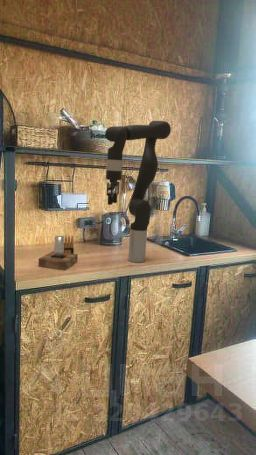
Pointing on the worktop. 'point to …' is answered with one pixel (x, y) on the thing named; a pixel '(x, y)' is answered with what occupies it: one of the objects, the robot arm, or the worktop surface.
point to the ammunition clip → (68, 245)
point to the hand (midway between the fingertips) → (112, 203)
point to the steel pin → (59, 247)
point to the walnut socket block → (58, 261)
